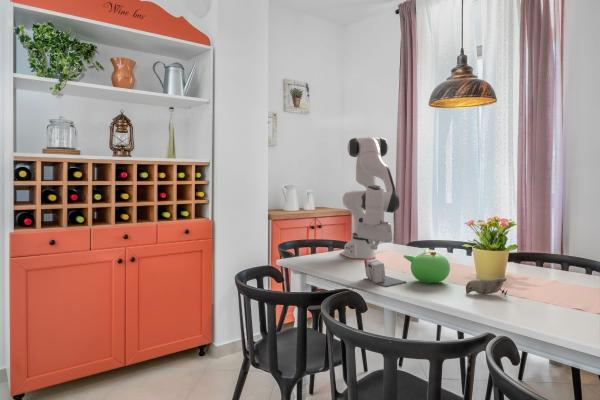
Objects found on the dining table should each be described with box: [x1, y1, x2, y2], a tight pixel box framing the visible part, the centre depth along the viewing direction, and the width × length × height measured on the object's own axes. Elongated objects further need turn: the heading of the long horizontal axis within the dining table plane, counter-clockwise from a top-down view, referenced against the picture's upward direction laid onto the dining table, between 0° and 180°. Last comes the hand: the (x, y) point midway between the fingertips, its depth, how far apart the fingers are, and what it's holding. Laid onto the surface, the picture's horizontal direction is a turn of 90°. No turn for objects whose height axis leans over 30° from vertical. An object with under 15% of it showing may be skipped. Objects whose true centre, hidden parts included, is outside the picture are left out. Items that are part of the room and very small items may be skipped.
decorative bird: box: [465, 277, 508, 297], centre depth 175 cm, size 5×16×8 cm, turn 83°
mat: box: [363, 275, 407, 288], centre depth 194 cm, size 14×13×1 cm
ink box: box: [363, 258, 386, 283], centre depth 194 cm, size 8×5×12 cm
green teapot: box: [403, 248, 451, 284], centre depth 193 cm, size 18×17×15 cm
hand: (373, 249), depth 200 cm, fingers closed
